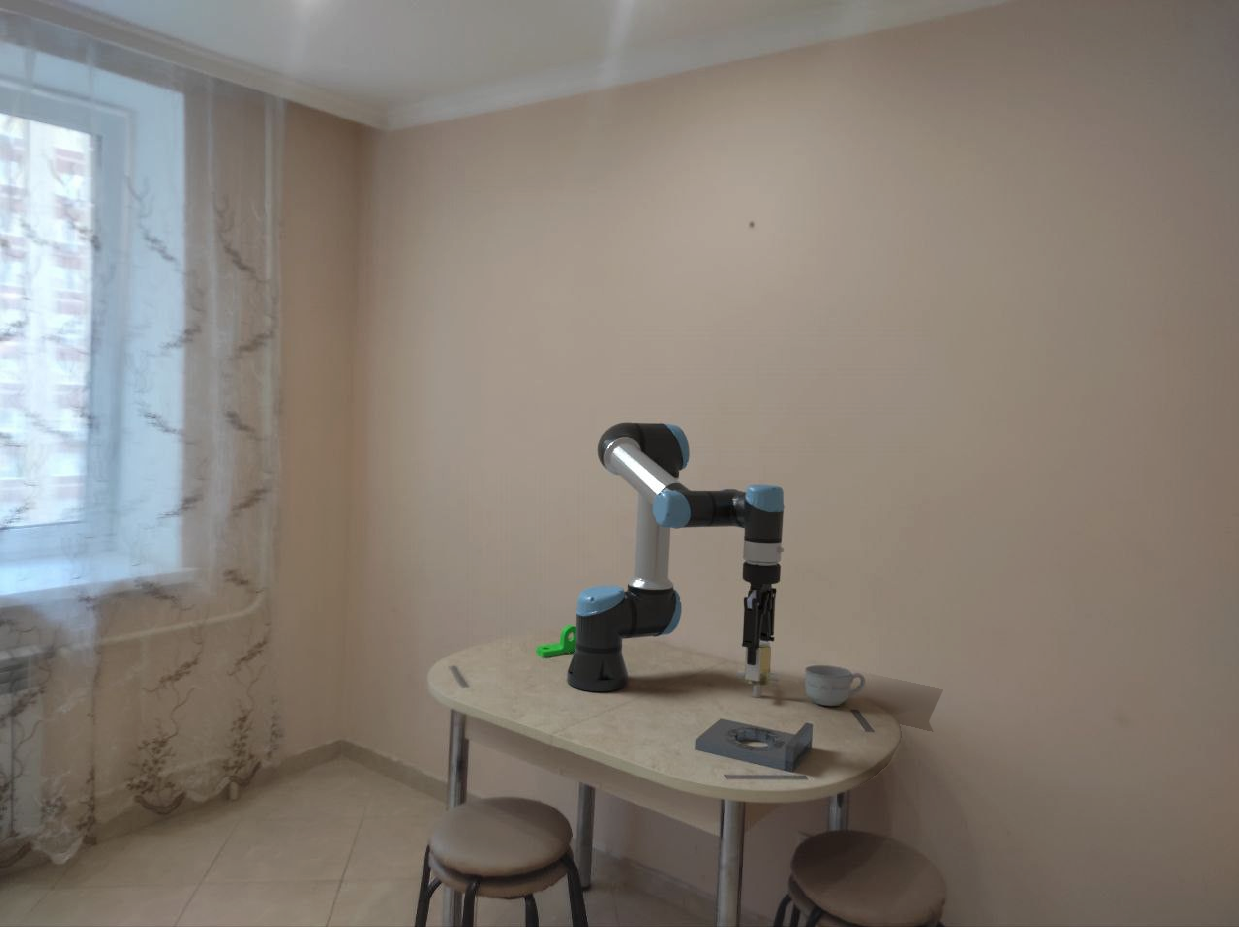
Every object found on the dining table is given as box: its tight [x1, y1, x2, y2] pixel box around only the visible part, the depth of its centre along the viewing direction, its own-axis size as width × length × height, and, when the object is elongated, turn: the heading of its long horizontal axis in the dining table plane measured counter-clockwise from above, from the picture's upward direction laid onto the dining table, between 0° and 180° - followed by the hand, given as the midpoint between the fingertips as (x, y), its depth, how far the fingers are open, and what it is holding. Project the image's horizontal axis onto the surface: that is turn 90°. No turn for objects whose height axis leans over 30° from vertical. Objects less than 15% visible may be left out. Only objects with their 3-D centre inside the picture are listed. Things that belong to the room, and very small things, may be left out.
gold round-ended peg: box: [744, 644, 772, 686], centre depth 168 cm, size 5×5×7 cm
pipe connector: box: [736, 669, 780, 699], centre depth 200 cm, size 10×10×10 cm
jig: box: [694, 717, 814, 773], centre depth 169 cm, size 20×14×5 cm
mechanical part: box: [535, 624, 576, 659], centre depth 230 cm, size 12×6×8 cm, turn 126°
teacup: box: [804, 664, 866, 707], centre depth 198 cm, size 14×11×8 cm
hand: (756, 675), depth 168 cm, fingers closed on gold round-ended peg, 5 cm apart
